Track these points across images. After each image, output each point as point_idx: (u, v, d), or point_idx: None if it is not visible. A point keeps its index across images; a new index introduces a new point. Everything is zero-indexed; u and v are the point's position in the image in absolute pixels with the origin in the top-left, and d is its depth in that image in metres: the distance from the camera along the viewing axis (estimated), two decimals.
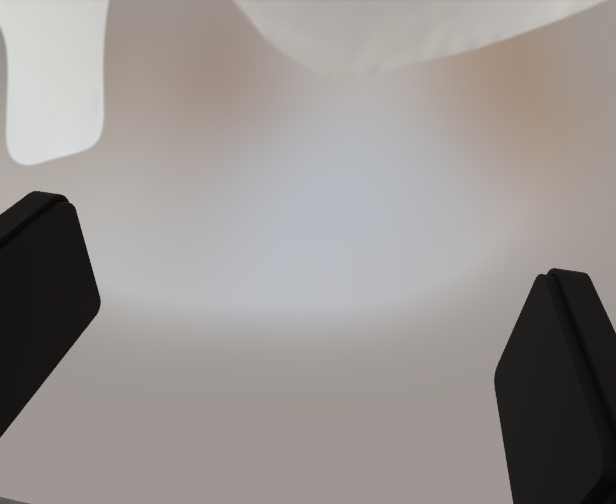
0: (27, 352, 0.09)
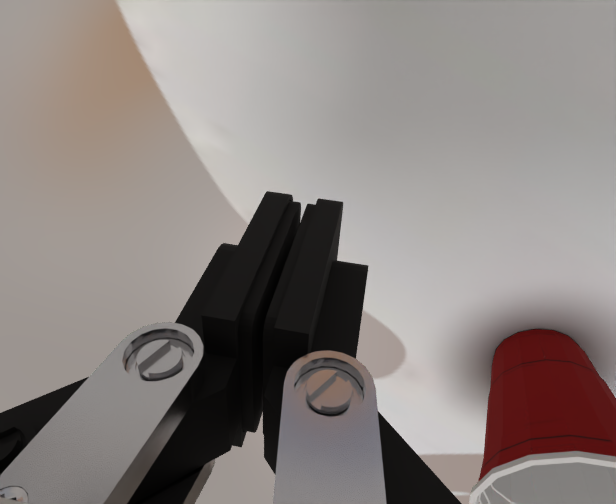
0: None
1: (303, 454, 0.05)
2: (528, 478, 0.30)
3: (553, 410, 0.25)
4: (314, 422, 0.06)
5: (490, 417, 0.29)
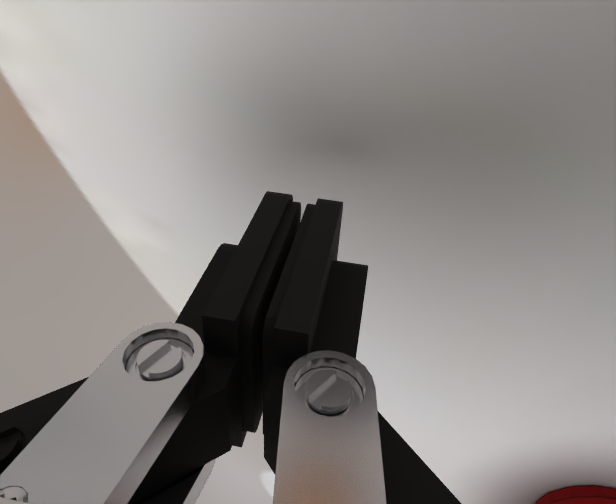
0: None
1: (303, 454, 0.05)
2: None
3: None
4: (314, 422, 0.06)
5: None
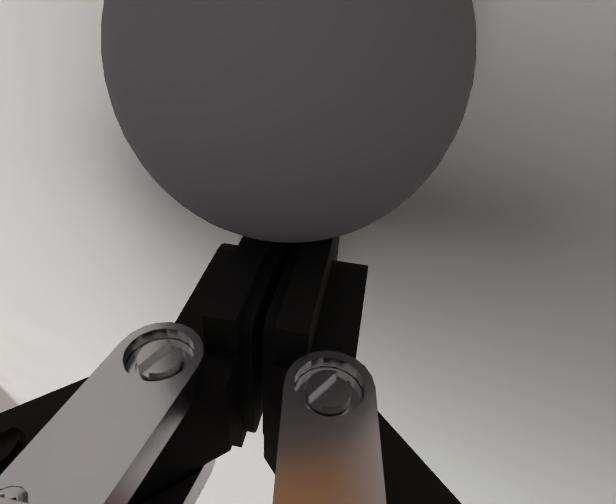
0: None
1: (303, 454, 0.05)
2: None
3: None
4: (314, 422, 0.06)
5: None
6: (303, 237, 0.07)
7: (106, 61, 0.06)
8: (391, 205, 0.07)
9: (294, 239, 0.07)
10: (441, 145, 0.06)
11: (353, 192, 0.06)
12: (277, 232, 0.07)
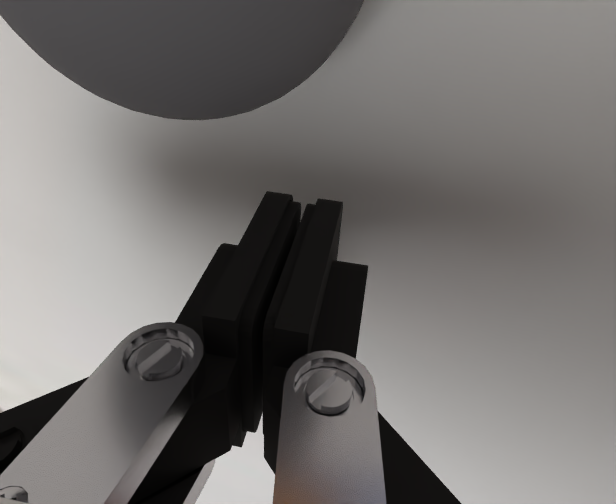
0: None
1: (302, 454, 0.05)
2: None
3: None
4: (314, 422, 0.06)
5: None
6: None
7: None
8: None
9: None
10: None
11: None
12: None
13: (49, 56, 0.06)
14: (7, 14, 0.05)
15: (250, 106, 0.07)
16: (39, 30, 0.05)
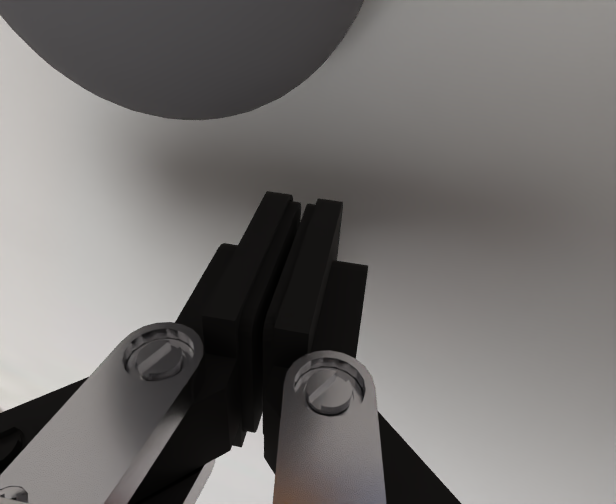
0: None
1: (302, 454, 0.05)
2: None
3: None
4: (314, 422, 0.06)
5: None
6: None
7: None
8: None
9: None
10: None
11: None
12: None
13: (49, 56, 0.06)
14: (7, 14, 0.05)
15: (250, 106, 0.07)
16: (39, 30, 0.05)
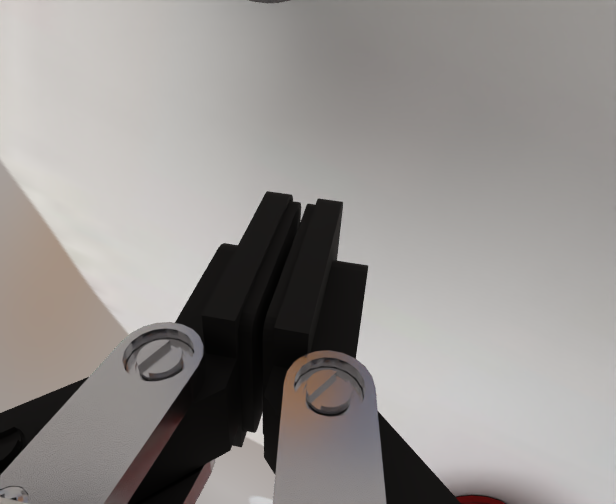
0: None
1: (302, 454, 0.05)
2: None
3: None
4: (314, 422, 0.06)
5: None
6: None
7: None
8: None
9: None
10: None
11: None
12: None
13: None
14: None
15: None
16: None
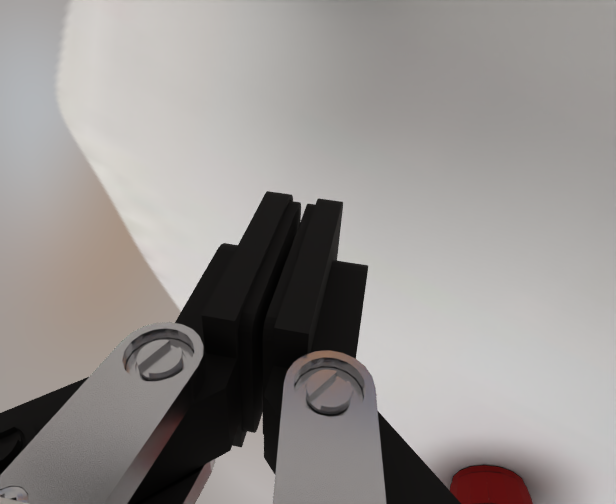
0: None
1: (303, 454, 0.05)
2: None
3: None
4: (314, 422, 0.06)
5: None
6: None
7: None
8: None
9: None
10: None
11: None
12: None
13: None
14: None
15: None
16: None
